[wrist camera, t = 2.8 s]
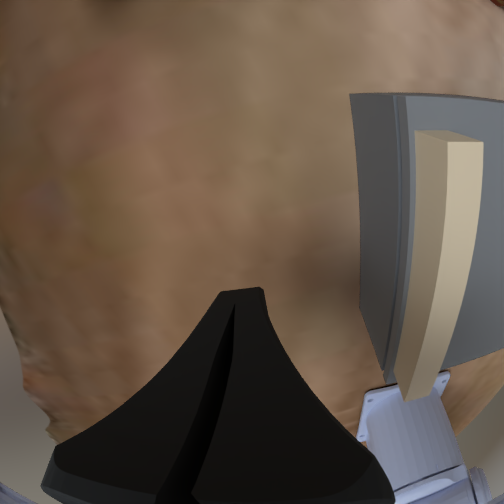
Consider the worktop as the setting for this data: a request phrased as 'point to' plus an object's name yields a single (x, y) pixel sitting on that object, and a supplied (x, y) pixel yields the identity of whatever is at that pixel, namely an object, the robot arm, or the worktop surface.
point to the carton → (498, 2)
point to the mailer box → (380, 207)
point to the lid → (448, 239)
